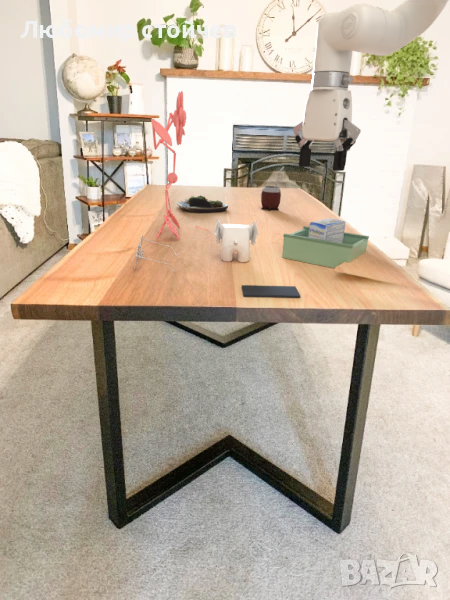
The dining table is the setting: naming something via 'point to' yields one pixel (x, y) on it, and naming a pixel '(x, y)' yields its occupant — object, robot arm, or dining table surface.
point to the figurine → (179, 123)
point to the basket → (323, 248)
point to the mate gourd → (271, 196)
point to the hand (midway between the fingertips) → (320, 168)
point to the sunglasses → (143, 252)
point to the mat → (270, 291)
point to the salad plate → (202, 205)
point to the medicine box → (327, 230)
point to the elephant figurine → (235, 240)
